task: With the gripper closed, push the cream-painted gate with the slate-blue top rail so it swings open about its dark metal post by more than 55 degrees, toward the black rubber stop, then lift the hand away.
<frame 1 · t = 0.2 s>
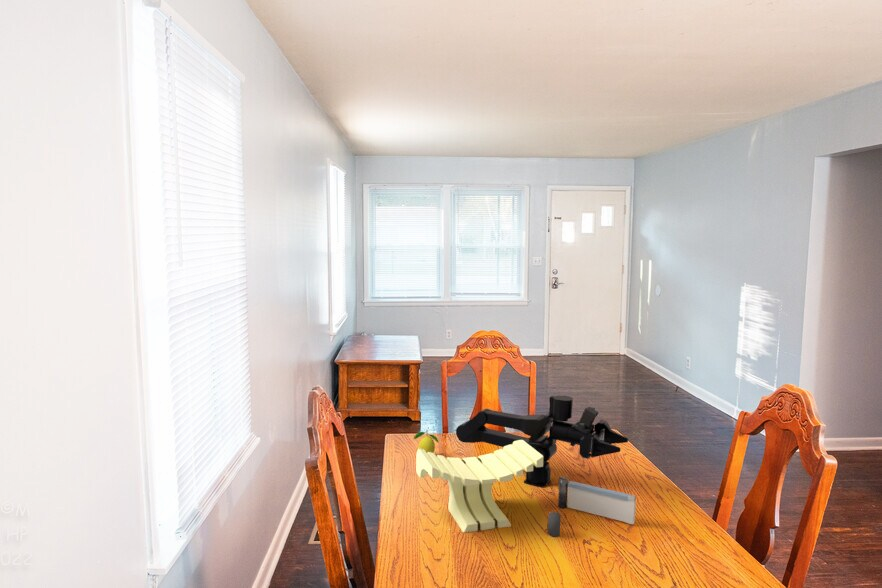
hand: (624, 445, 160), 17 cm above the table, tool horizontal, fingers open, 9 cm apart
lemon: (426, 458, 192), on the table
slatted curved stool: (477, 515, 152), on the table
gate post: (562, 506, 158), on the table
gate stop: (553, 533, 143), on the table
gate: (600, 501, 152), point 4 cm above the table, hinge at 0.0°
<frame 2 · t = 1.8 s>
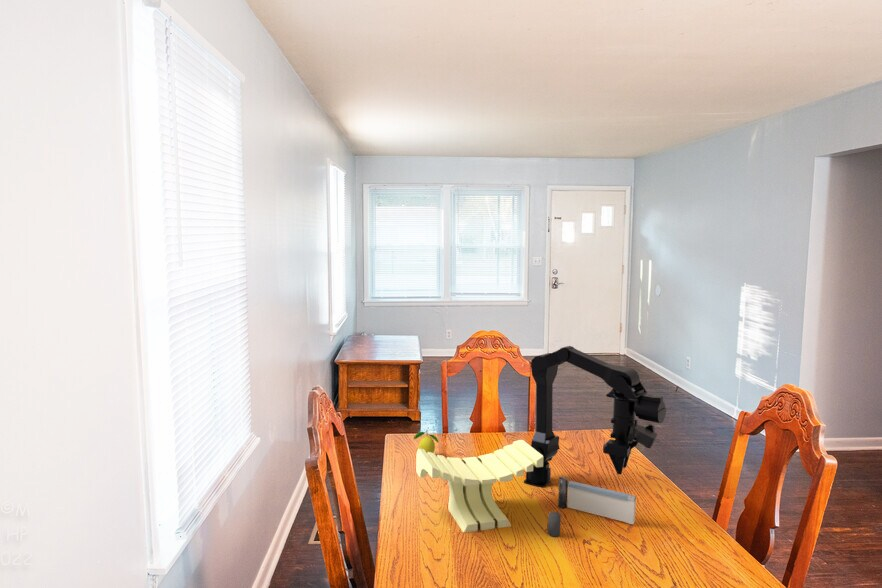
hand: (621, 470, 156), 11 cm above the table, tool pointing down, fingers open, 5 cm apart
nothing on the table moved.
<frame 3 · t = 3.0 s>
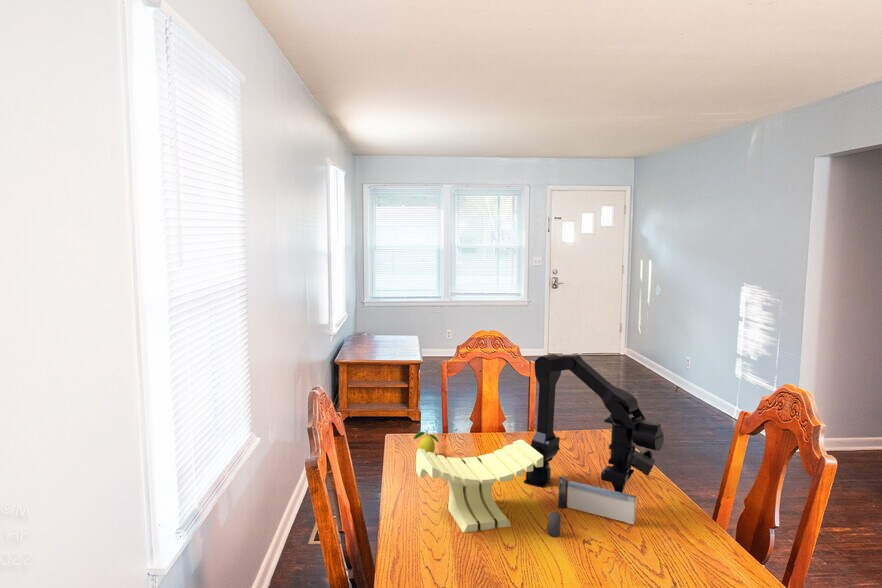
hand: (619, 496, 155), 4 cm above the table, tool pointing down, fingers closed
nothing on the table moved.
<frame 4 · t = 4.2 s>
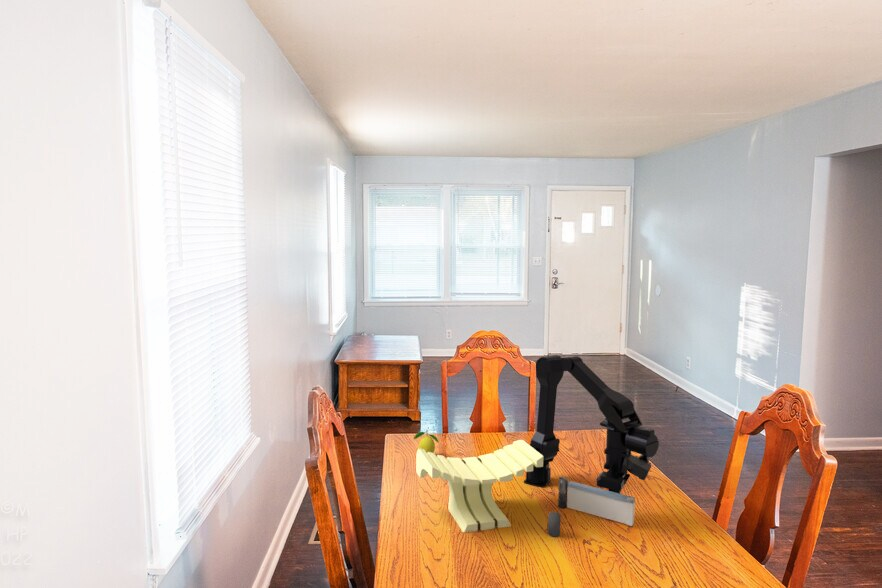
hand: (615, 501, 152), 4 cm above the table, tool pointing down, fingers closed
gate: (599, 502, 152), point 4 cm above the table, hinge at 3.3°, touching gripper
everything else where it was.
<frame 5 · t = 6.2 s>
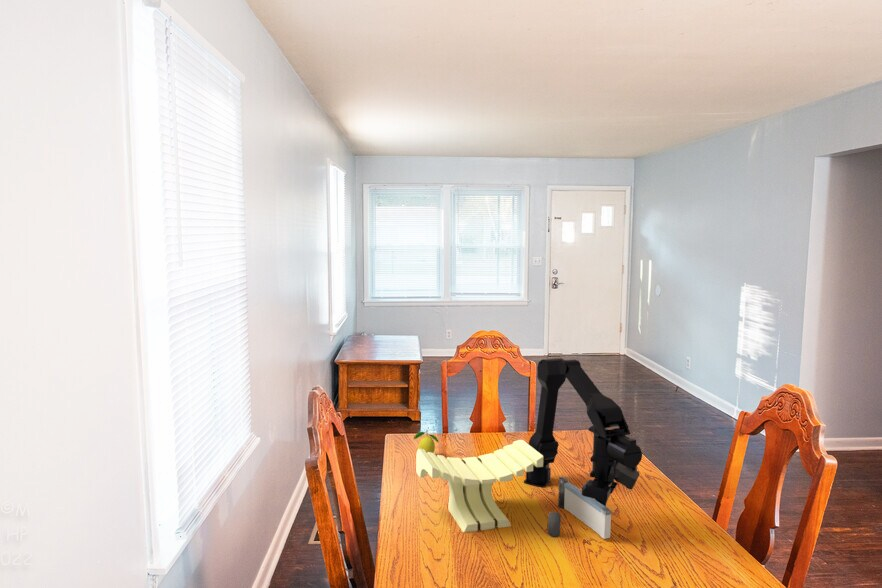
hand: (602, 510, 147), 4 cm above the table, tool pointing down, fingers closed
gate: (585, 509, 148), point 4 cm above the table, hinge at 37.6°, touching gripper
everything else where it was.
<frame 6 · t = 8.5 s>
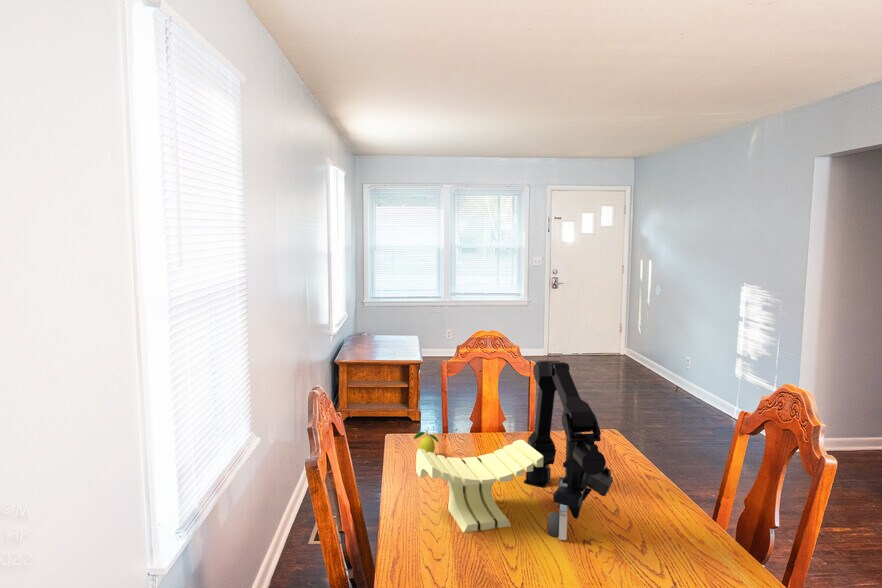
hand: (575, 518, 143), 4 cm above the table, tool pointing down, fingers closed
gate: (563, 509, 147), point 4 cm above the table, hinge at 71.6°, touching gate stop, gripper
everything else where it was.
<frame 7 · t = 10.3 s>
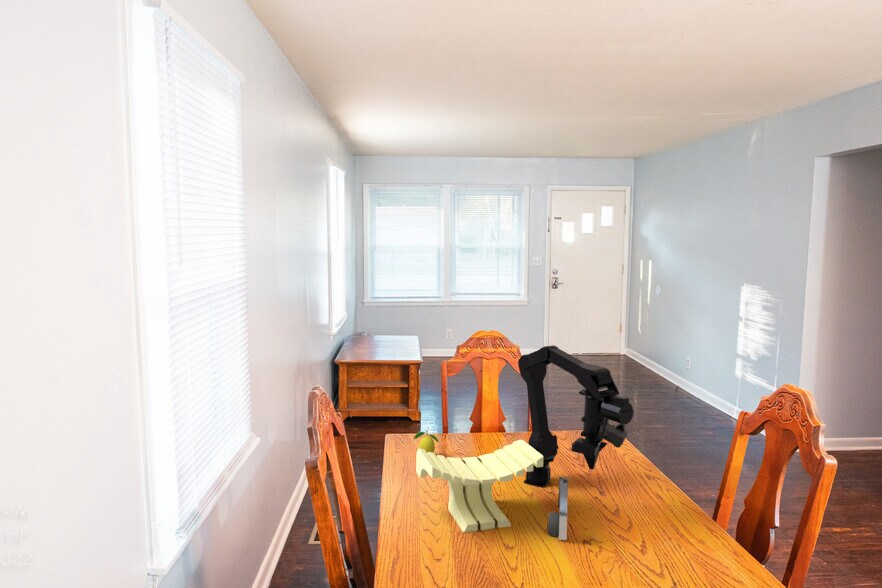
hand: (591, 469, 156), 11 cm above the table, tool pointing down, fingers closed
gate: (563, 509, 147), point 4 cm above the table, hinge at 71.6°, touching gate stop
everything else where it was.
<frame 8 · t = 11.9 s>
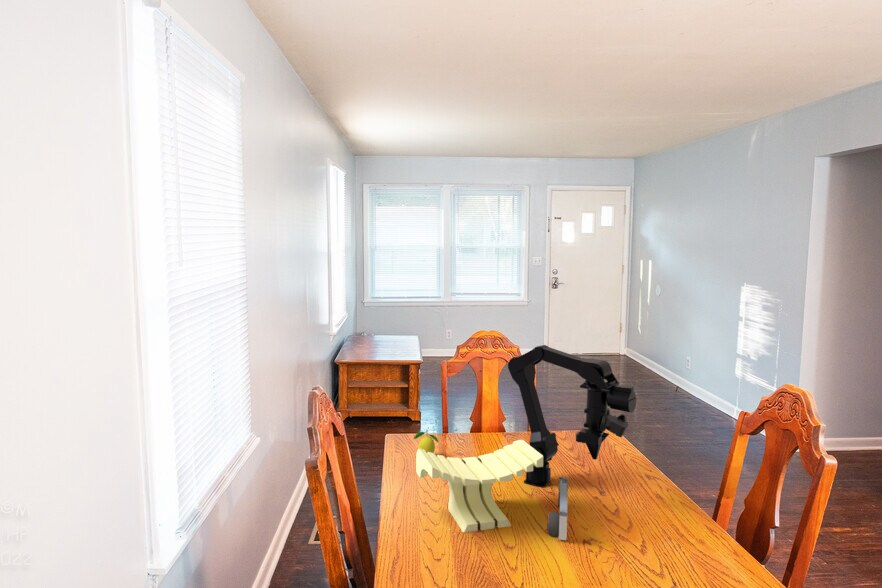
hand: (594, 459, 161), 12 cm above the table, tool pointing down, fingers closed
nothing on the table moved.
at the end: gate at +72° (first picture: +0°) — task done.
